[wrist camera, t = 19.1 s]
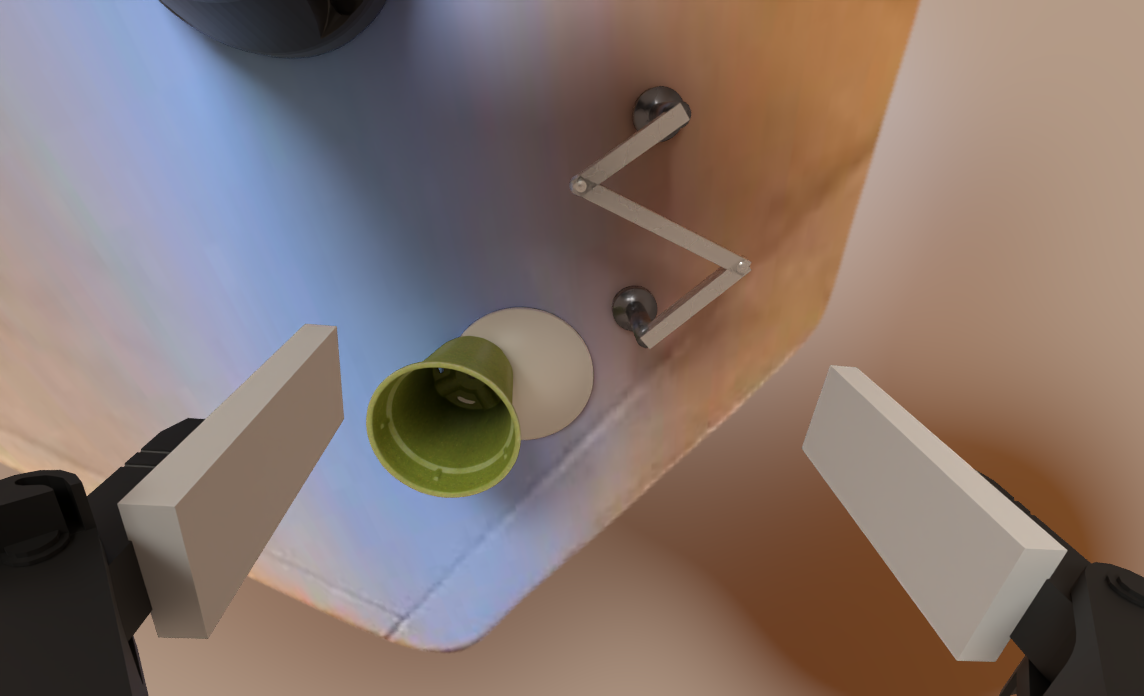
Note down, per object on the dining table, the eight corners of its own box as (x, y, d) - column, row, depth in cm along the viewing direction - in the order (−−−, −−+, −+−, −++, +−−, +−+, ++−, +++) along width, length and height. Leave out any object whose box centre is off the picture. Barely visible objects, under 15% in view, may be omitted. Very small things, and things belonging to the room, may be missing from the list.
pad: (450, 433, 43) (449, 437, 43) (447, 303, 39) (446, 305, 39) (586, 438, 44) (587, 442, 44) (599, 311, 40) (599, 314, 39)
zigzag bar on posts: (556, 322, 40) (557, 360, 34) (572, 79, 34) (577, 71, 28) (704, 330, 41) (731, 368, 35) (747, 94, 34) (790, 90, 28)
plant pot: (400, 409, 42) (356, 478, 34) (420, 297, 38) (376, 345, 30) (518, 439, 43) (501, 512, 35) (548, 332, 39) (537, 387, 31)
